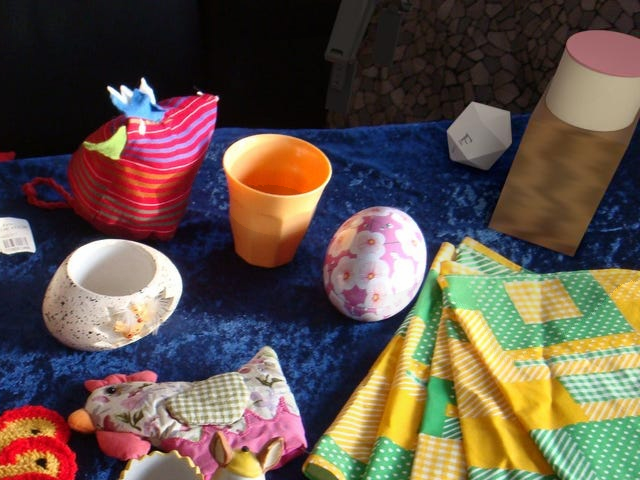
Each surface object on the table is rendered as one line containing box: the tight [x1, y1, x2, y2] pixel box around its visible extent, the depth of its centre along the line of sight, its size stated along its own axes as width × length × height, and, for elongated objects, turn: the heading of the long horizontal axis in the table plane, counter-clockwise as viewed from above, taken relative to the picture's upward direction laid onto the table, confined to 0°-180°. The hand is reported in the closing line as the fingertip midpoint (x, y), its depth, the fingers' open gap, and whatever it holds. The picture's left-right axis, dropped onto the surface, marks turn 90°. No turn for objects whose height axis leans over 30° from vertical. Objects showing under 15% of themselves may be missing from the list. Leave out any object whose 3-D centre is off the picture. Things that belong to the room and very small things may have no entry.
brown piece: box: [487, 75, 640, 257], centre depth 105 cm, size 11×11×17 cm
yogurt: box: [546, 29, 640, 131], centre depth 97 cm, size 10×10×7 cm
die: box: [446, 101, 513, 171], centre depth 118 cm, size 8×9×10 cm
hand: (359, 86), depth 103 cm, fingers open, 13 cm apart
